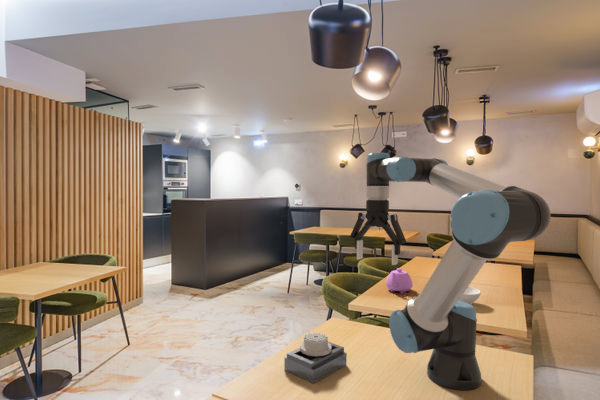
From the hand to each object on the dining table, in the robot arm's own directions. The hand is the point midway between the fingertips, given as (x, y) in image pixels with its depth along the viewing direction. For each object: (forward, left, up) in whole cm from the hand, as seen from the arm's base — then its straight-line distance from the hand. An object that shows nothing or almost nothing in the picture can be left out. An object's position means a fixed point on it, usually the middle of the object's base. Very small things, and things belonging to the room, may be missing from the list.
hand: (376, 261), depth 131 cm
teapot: (+33, -77, -32) cm, 90 cm away
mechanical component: (+8, +22, -26) cm, 35 cm away
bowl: (-1, -78, -32) cm, 84 cm away
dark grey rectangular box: (+8, +20, -32) cm, 39 cm away
